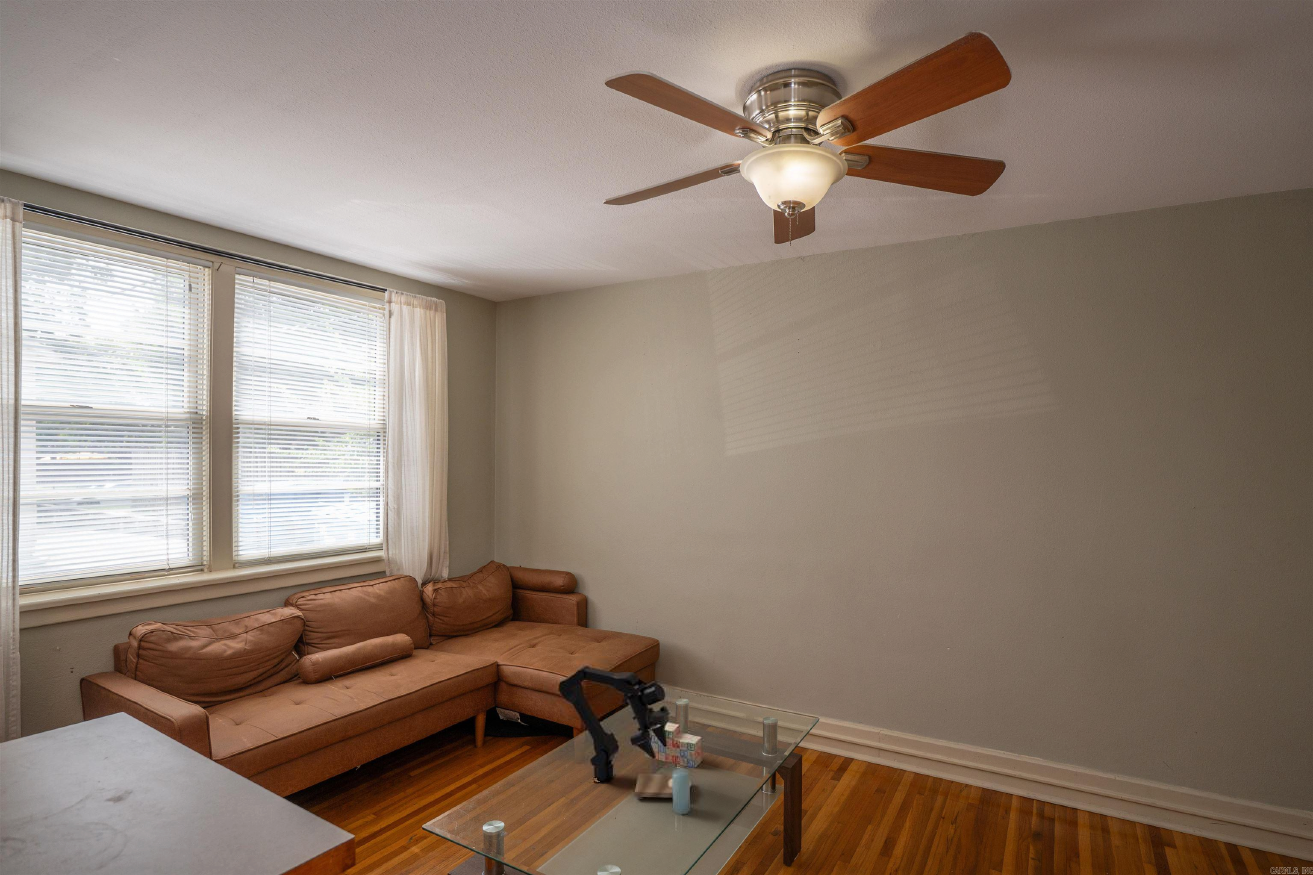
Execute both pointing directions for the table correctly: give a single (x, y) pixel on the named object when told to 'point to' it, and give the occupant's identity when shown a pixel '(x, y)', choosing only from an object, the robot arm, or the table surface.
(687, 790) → the light blue rounded piece
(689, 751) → the stack of blocks
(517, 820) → the table surface
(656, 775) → the plate
